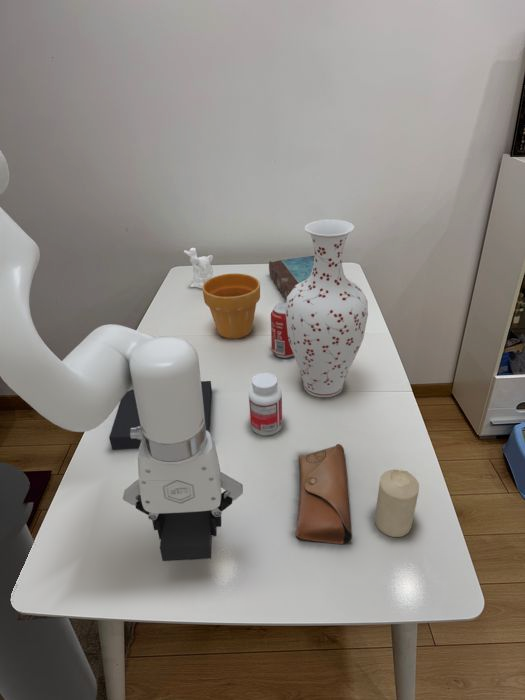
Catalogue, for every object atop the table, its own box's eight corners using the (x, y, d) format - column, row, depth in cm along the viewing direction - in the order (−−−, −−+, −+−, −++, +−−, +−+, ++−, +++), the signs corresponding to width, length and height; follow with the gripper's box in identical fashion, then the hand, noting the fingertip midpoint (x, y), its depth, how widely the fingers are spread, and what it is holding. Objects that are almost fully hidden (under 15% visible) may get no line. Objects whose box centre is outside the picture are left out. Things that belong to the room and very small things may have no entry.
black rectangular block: (162, 561, 65) (159, 547, 63) (171, 489, 76) (169, 475, 74) (211, 558, 65) (209, 544, 64) (213, 486, 76) (212, 473, 74)
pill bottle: (265, 411, 98) (263, 366, 92) (288, 424, 95) (288, 378, 89) (244, 427, 94) (240, 381, 89) (267, 441, 91) (265, 394, 85)
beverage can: (303, 351, 117) (303, 306, 110) (286, 362, 113) (286, 317, 106) (283, 342, 120) (282, 299, 114) (266, 353, 117) (264, 308, 110)
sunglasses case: (295, 453, 87) (315, 429, 84) (328, 468, 89) (349, 445, 85) (294, 540, 72) (318, 515, 69) (334, 557, 73) (360, 533, 70)
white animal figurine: (185, 290, 148) (180, 252, 142) (191, 280, 154) (186, 244, 148) (212, 290, 147) (209, 253, 141) (217, 281, 153) (214, 244, 147)
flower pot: (198, 340, 123) (193, 294, 116) (218, 314, 134) (214, 270, 127) (252, 347, 119) (249, 300, 112) (268, 320, 130) (266, 275, 123)
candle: (367, 519, 75) (372, 473, 70) (391, 502, 78) (398, 456, 73) (394, 544, 71) (403, 497, 66) (419, 524, 74) (429, 478, 69)
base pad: (112, 449, 90) (108, 437, 89) (127, 397, 104) (125, 385, 102) (209, 443, 91) (207, 431, 89) (212, 392, 104) (210, 380, 103)
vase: (298, 415, 97) (299, 247, 78) (277, 370, 110) (274, 218, 92) (373, 401, 100) (392, 236, 81) (344, 359, 113) (354, 209, 94)
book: (269, 276, 155) (268, 261, 152) (321, 269, 158) (321, 254, 156) (289, 307, 136) (289, 291, 134) (348, 298, 140) (349, 282, 137)
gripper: (95, 460, 56) (121, 556, 65) (247, 452, 56) (251, 549, 66) (109, 417, 62) (131, 510, 71) (245, 411, 63) (249, 504, 72)
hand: (188, 528), depth 69 cm, fingers closed on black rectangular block, 6 cm apart
